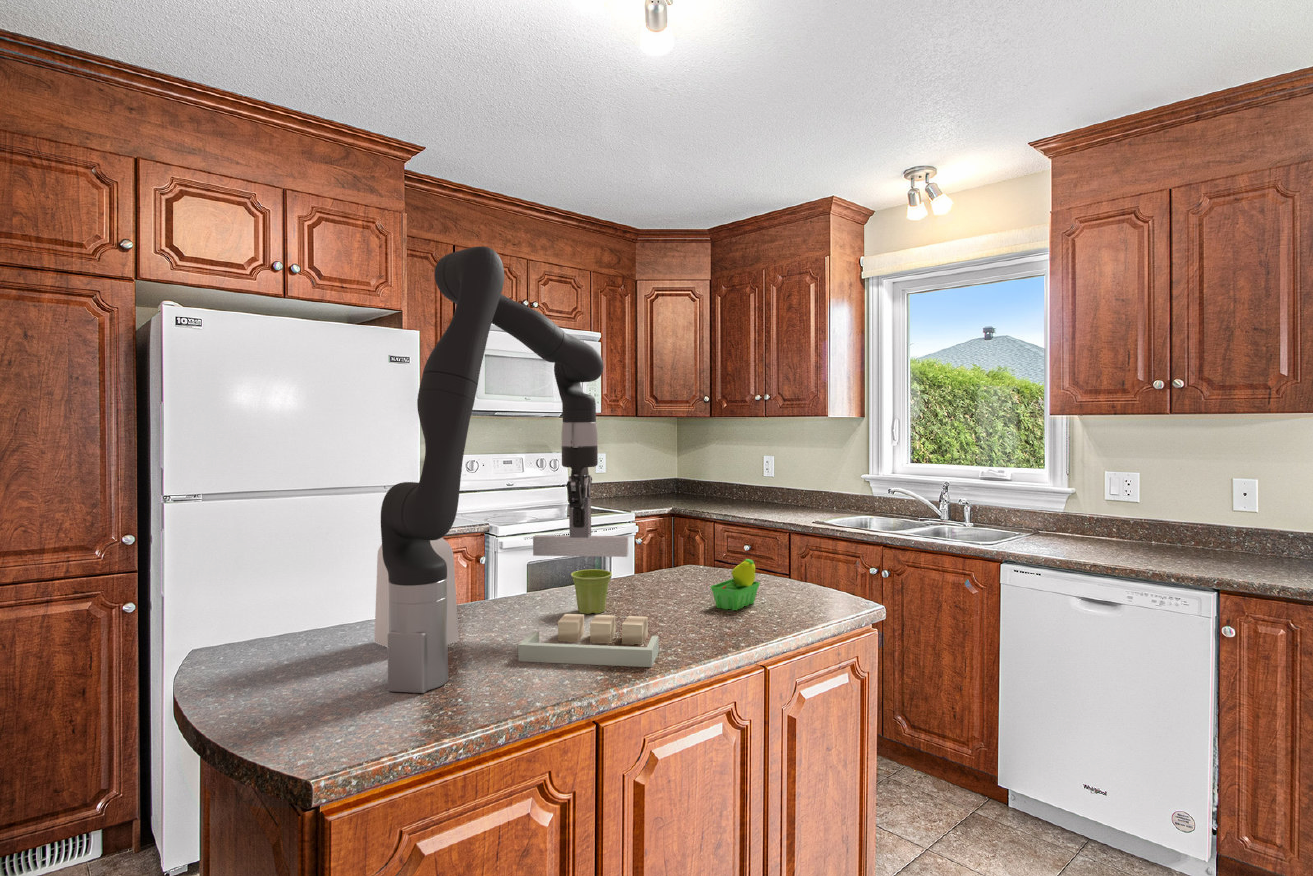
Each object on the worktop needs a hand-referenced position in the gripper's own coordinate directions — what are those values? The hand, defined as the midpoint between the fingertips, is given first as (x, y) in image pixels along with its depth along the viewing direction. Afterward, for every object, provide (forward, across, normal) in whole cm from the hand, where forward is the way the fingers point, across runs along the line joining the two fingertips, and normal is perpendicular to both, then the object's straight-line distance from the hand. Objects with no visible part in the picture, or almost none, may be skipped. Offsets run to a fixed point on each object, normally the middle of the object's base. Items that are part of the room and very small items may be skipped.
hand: (580, 525), depth 150 cm
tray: (+21, +19, +6) cm, 29 cm away
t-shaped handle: (+6, 0, 0) cm, 6 cm away
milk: (+21, +14, -30) cm, 39 cm away
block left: (+22, +7, 0) cm, 23 cm away
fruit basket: (+22, -21, +33) cm, 45 cm away
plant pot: (+22, -13, 0) cm, 25 cm away
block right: (+22, +8, +12) cm, 26 cm away
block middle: (+22, +8, +6) cm, 24 cm away
